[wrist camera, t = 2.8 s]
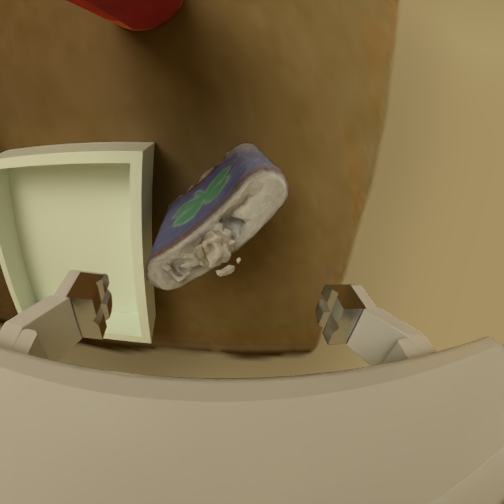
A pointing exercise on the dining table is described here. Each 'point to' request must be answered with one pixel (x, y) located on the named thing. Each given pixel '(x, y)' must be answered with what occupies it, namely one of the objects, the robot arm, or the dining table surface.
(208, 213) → the flask
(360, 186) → the dining table surface
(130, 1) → the paper cup
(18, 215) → the serving bin
